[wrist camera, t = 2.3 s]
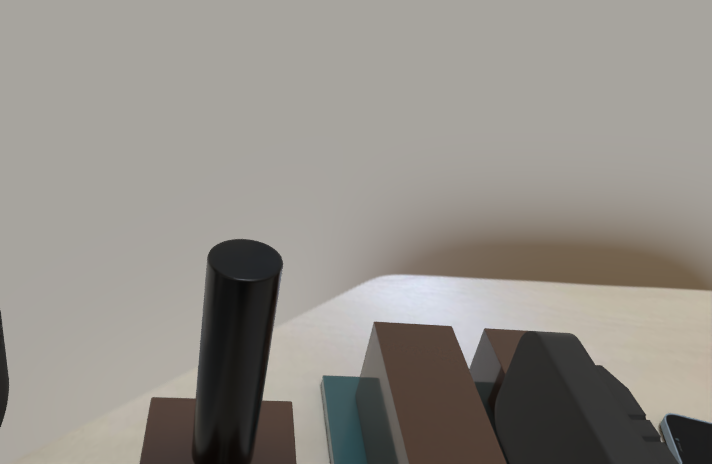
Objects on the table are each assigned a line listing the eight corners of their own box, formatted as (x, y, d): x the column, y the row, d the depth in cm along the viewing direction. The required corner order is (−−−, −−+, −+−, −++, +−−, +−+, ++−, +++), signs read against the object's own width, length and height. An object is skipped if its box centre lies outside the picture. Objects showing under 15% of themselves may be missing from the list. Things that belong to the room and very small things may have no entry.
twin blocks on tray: (635, 586, 39) (695, 503, 35) (346, 596, 35) (375, 504, 31) (537, 392, 52) (572, 316, 48) (320, 384, 49) (338, 301, 45)
